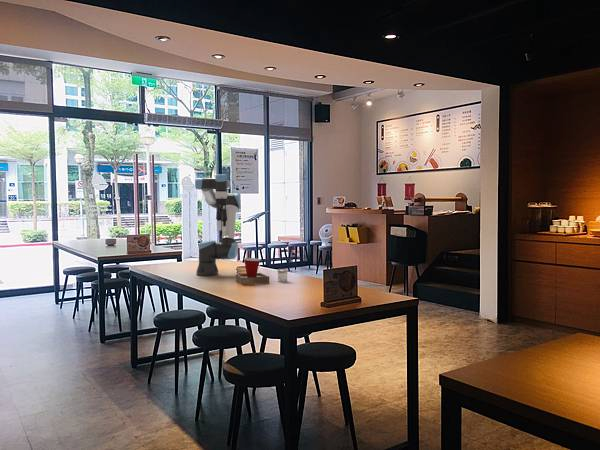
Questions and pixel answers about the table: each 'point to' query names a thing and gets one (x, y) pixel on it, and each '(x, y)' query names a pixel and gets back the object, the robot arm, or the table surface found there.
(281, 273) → the ceramic sugar jar
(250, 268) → the plastic cup
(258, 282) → the walnut riser
